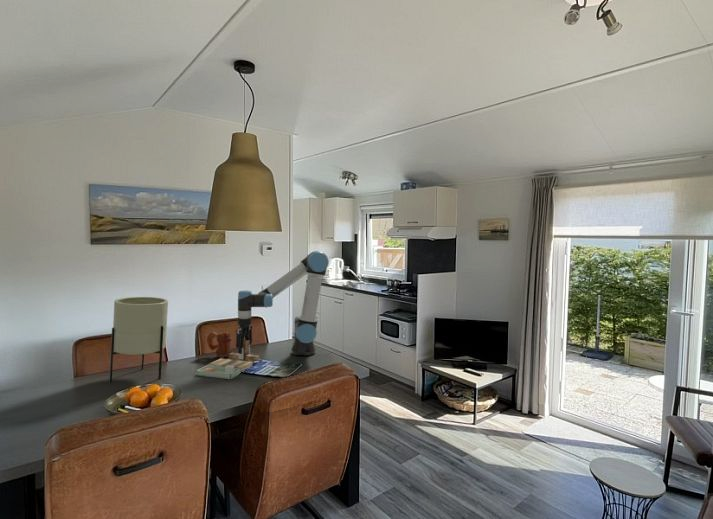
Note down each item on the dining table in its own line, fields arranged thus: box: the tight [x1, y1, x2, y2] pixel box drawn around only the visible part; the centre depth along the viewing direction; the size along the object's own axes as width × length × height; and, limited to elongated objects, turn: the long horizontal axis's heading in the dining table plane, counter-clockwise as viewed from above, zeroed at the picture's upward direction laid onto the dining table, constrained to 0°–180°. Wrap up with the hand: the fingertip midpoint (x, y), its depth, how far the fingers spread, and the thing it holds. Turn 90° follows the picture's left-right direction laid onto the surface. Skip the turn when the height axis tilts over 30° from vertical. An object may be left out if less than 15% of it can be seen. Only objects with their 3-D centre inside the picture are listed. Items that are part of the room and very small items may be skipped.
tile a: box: [225, 365, 234, 374], centre depth 204 cm, size 4×4×2 cm
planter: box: [108, 296, 169, 384], centre depth 197 cm, size 23×24×39 cm
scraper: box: [228, 339, 260, 362], centre depth 227 cm, size 18×4×12 cm, turn 75°
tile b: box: [204, 367, 215, 372], centre depth 205 cm, size 4×4×2 cm
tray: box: [195, 364, 242, 380], centre depth 204 cm, size 20×10×3 cm, turn 75°
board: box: [208, 358, 254, 372], centre depth 215 cm, size 20×11×3 cm, turn 75°
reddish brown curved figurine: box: [206, 330, 232, 359], centre depth 236 cm, size 15×8×15 cm, turn 84°
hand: (244, 357), depth 228 cm, fingers open, 6 cm apart
